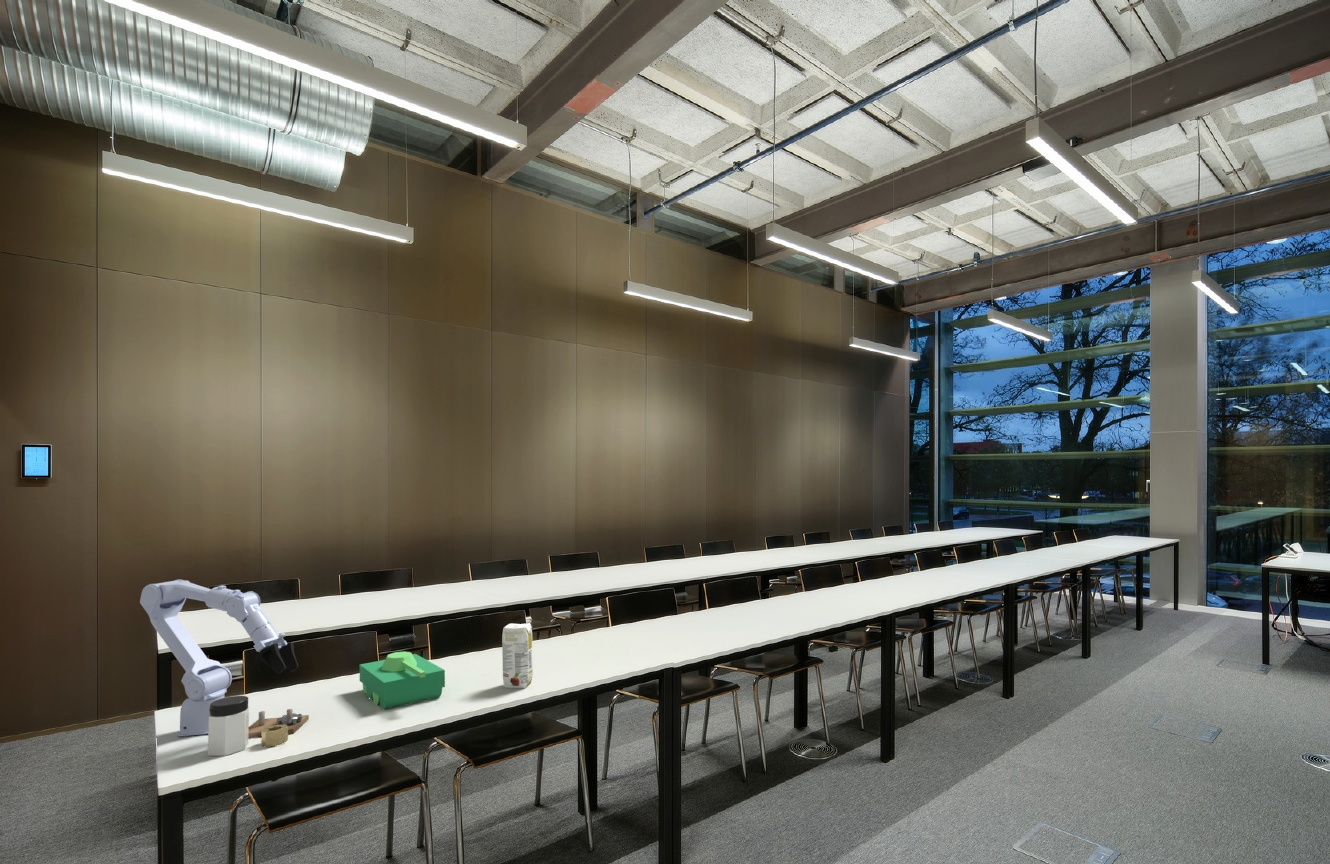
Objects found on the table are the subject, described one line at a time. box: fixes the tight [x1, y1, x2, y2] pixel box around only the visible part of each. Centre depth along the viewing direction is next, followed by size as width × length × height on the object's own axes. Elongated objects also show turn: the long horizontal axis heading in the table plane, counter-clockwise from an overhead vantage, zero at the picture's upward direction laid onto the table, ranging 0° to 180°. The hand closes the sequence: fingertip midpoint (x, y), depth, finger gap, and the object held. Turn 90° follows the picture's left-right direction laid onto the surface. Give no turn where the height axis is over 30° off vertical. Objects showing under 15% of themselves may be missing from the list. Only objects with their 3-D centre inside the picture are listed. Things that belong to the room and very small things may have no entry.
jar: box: [207, 695, 250, 757], centre depth 165 cm, size 9×8×12 cm
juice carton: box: [501, 622, 534, 689], centre depth 210 cm, size 8×9×19 cm
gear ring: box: [260, 724, 289, 748], centre depth 168 cm, size 5×5×4 cm
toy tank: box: [359, 651, 446, 711], centre depth 202 cm, size 18×12×35 cm
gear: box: [276, 712, 302, 726], centre depth 179 cm, size 6×6×2 cm
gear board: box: [248, 708, 310, 739], centre depth 178 cm, size 13×11×5 cm
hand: (288, 670), depth 176 cm, fingers open, 7 cm apart
